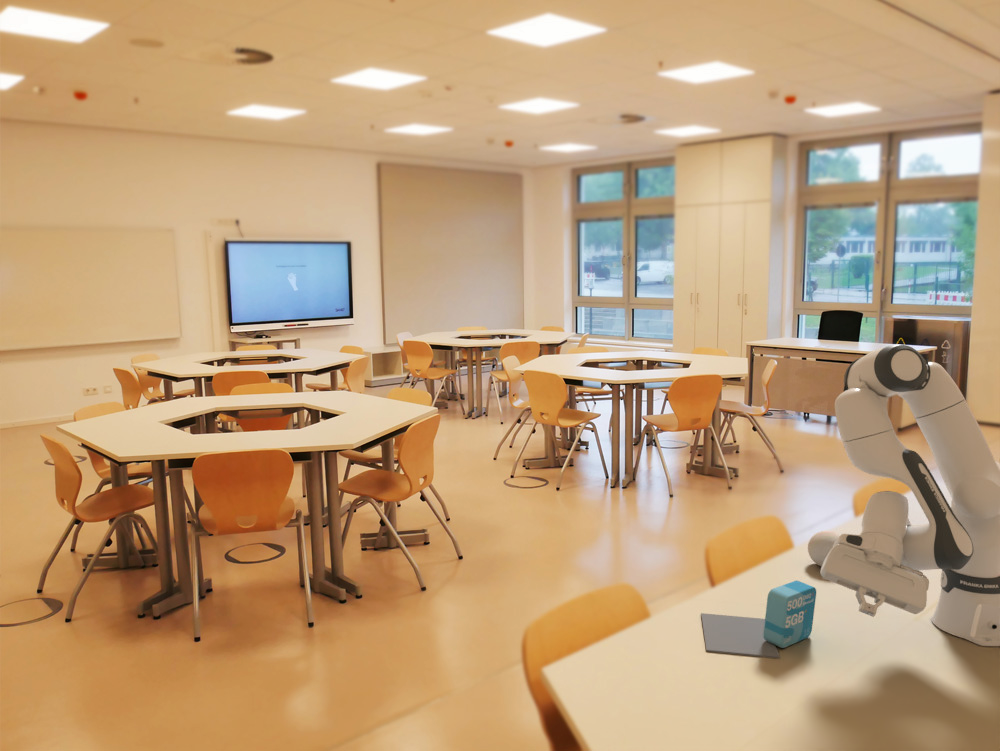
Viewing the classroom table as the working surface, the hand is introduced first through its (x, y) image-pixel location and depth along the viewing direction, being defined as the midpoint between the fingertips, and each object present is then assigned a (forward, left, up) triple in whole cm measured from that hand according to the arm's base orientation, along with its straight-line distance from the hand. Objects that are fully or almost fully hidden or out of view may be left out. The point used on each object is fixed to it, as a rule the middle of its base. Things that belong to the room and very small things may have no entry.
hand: (867, 613), depth 156 cm
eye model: (-5, -59, -13) cm, 60 cm away
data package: (+13, -12, -13) cm, 21 cm away
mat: (+23, -12, -13) cm, 29 cm away
